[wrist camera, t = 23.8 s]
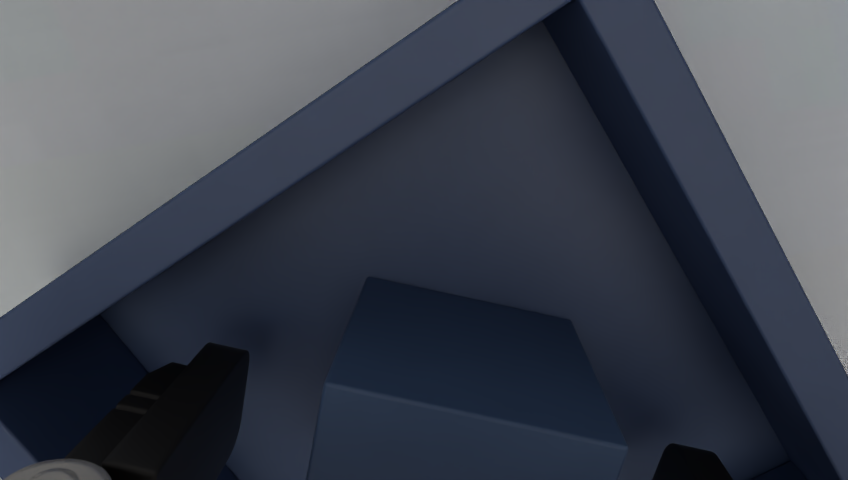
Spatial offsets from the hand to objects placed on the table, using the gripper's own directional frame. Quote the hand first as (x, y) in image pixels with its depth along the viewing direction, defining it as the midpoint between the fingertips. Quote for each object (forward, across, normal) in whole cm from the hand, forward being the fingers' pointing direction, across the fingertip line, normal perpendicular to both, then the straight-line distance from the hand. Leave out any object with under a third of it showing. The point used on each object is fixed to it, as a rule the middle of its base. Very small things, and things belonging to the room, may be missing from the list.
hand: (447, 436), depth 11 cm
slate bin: (+2, 0, 0) cm, 2 cm away
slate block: (+2, 0, 0) cm, 2 cm away
